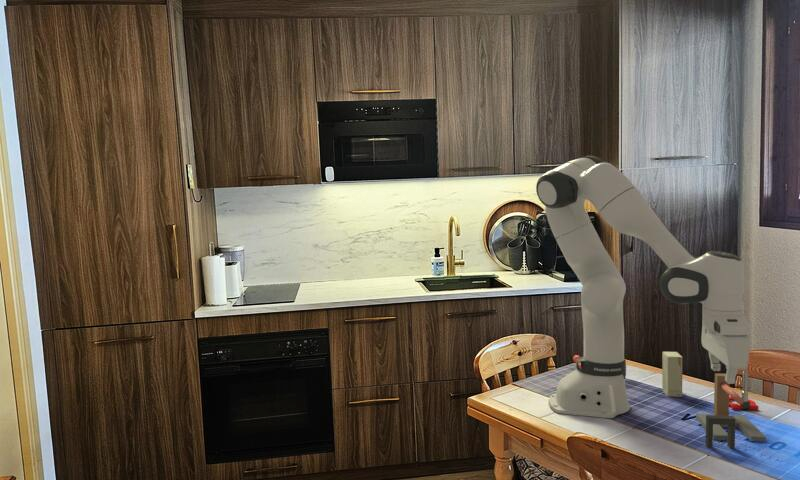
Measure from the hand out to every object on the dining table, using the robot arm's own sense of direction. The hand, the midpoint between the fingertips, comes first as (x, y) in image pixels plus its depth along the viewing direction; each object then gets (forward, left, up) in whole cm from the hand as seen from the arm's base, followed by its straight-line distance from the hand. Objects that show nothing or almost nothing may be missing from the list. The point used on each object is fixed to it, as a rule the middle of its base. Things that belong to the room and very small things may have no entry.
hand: (722, 376), depth 146 cm
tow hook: (+15, +29, -18) cm, 37 cm away
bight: (0, 0, -18) cm, 18 cm away
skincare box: (-1, +37, -18) cm, 41 cm away
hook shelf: (+6, +11, -18) cm, 22 cm away
